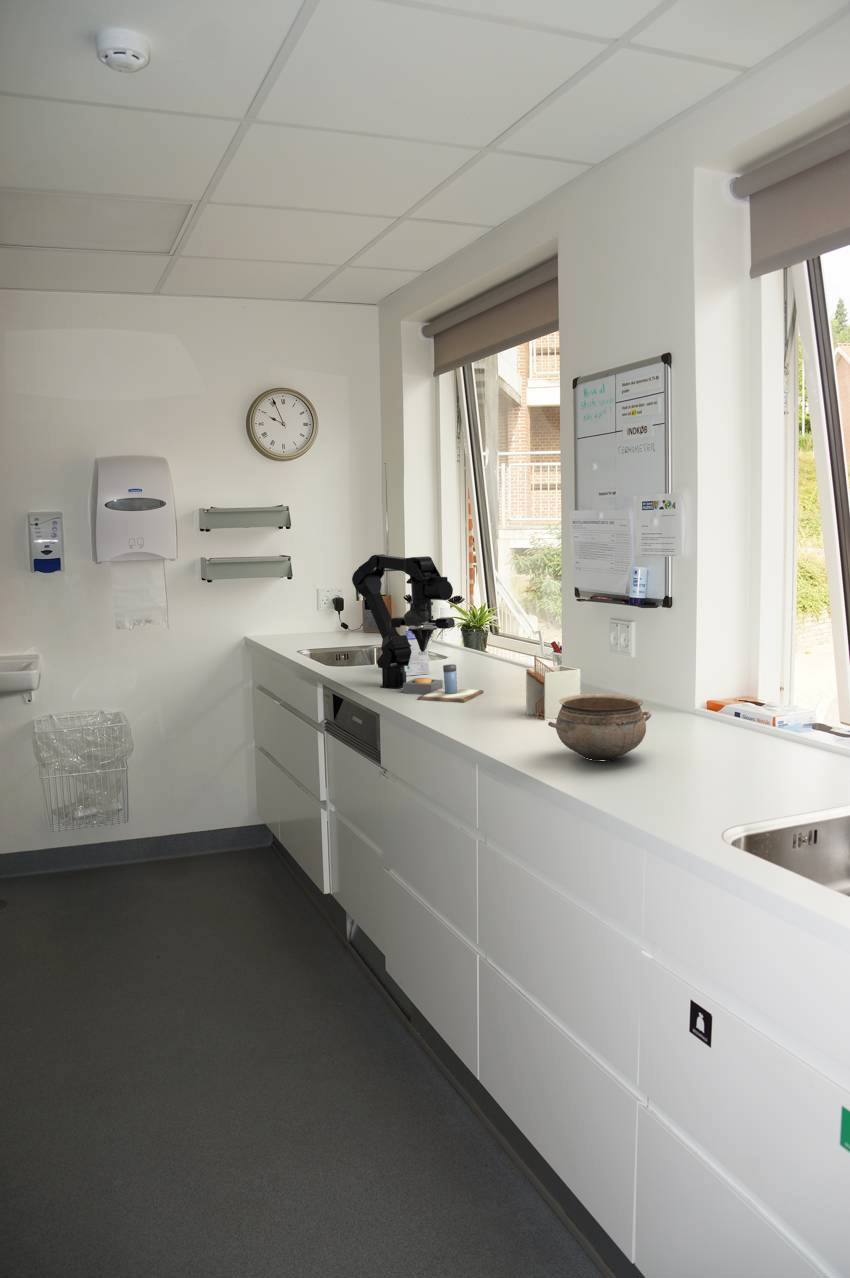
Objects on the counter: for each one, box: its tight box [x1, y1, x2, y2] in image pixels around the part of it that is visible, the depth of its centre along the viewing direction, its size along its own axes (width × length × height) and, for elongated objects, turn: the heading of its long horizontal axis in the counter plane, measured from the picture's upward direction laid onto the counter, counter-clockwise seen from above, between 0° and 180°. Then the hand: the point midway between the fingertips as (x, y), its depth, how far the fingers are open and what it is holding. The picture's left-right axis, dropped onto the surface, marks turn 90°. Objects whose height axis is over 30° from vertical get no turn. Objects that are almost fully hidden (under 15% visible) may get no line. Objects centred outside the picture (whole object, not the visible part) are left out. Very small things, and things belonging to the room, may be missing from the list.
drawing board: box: [417, 687, 484, 703], centre depth 285 cm, size 14×16×1 cm
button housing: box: [402, 678, 444, 695], centre depth 294 cm, size 9×9×3 cm
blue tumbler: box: [442, 664, 458, 694], centre depth 285 cm, size 4×4×8 cm
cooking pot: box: [547, 693, 652, 761], centre depth 210 cm, size 25×19×12 cm
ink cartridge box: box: [405, 630, 430, 677], centre depth 326 cm, size 10×6×14 cm, turn 115°
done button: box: [414, 677, 432, 684], centre depth 294 cm, size 5×5×2 cm
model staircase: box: [525, 654, 581, 721], centre depth 255 cm, size 9×11×17 cm
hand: (422, 651), depth 293 cm, fingers closed
